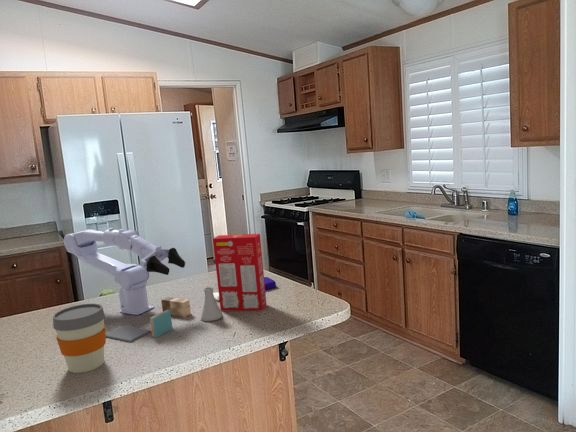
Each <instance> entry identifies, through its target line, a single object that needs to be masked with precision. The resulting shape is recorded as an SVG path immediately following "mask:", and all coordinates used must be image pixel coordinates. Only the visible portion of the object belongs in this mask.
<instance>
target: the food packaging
mask: <svg viewBox="0 0 576 432" xmlns="http://www.w3.org/2000/svg"><path fill="white" fill-rule="evenodd" d="M212 241H213V252H214V261H215V262H214V263H215V271H216V279H217V290H218V292H219V308H220V310H221V312H233V311H234V312H235V311H236V312H238V311H239V312H241V311H243V312H244V311H245V312H246V311H247V312H248V311H254V312H255V311H257V312H258V311H260V312H261V311H264V309H265V308H266V307H267V296H266V294H267V292H266V291H265V283H264V277H265V273H264V263H263V252H262V242H261V241H262V240H261V234H260V233H246V234H223V235H222V234H220V235H216V236H215V237H214V238H212Z"/></svg>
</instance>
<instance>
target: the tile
mask: <svg viewBox="0 0 576 432" xmlns="http://www.w3.org/2000/svg"><path fill="white" fill-rule="evenodd" d="M149 319H150V320H149V321H150V330H151V335H152V336H151V337H153V338H157V337H159V336H161V335H164V334H165V333H167V332H169V331H171V330H173V321H172V315H171V312H170V310H165V311H163V310H162V312H159V313H157V314H155V315H153V316H151V317H150V318H149Z"/></svg>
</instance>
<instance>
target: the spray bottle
mask: <svg viewBox="0 0 576 432" xmlns="http://www.w3.org/2000/svg"><path fill="white" fill-rule="evenodd" d="M264 283H265V292H266V291H270V290H273V289H276V288H275V287H277V283H276V281H275V280H274V279H272V278H270V277H267V276H264ZM269 289H270V290H269ZM213 295H214V298H215V300H216V302H220V299H219V291H218V292H213Z"/></svg>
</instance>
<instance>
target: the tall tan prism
mask: <svg viewBox="0 0 576 432" xmlns="http://www.w3.org/2000/svg"><path fill="white" fill-rule="evenodd" d="M161 308H162V310H161V311H162V312H163V311H165V310H170V312H171V316H175V317H176V316H177V317H183V318H186V317H188V316H190V315H192V313H191V303H190V299H185V298H177V297H173V296H172V297H171V296H166V297H164V298H162V299H161Z"/></svg>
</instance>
